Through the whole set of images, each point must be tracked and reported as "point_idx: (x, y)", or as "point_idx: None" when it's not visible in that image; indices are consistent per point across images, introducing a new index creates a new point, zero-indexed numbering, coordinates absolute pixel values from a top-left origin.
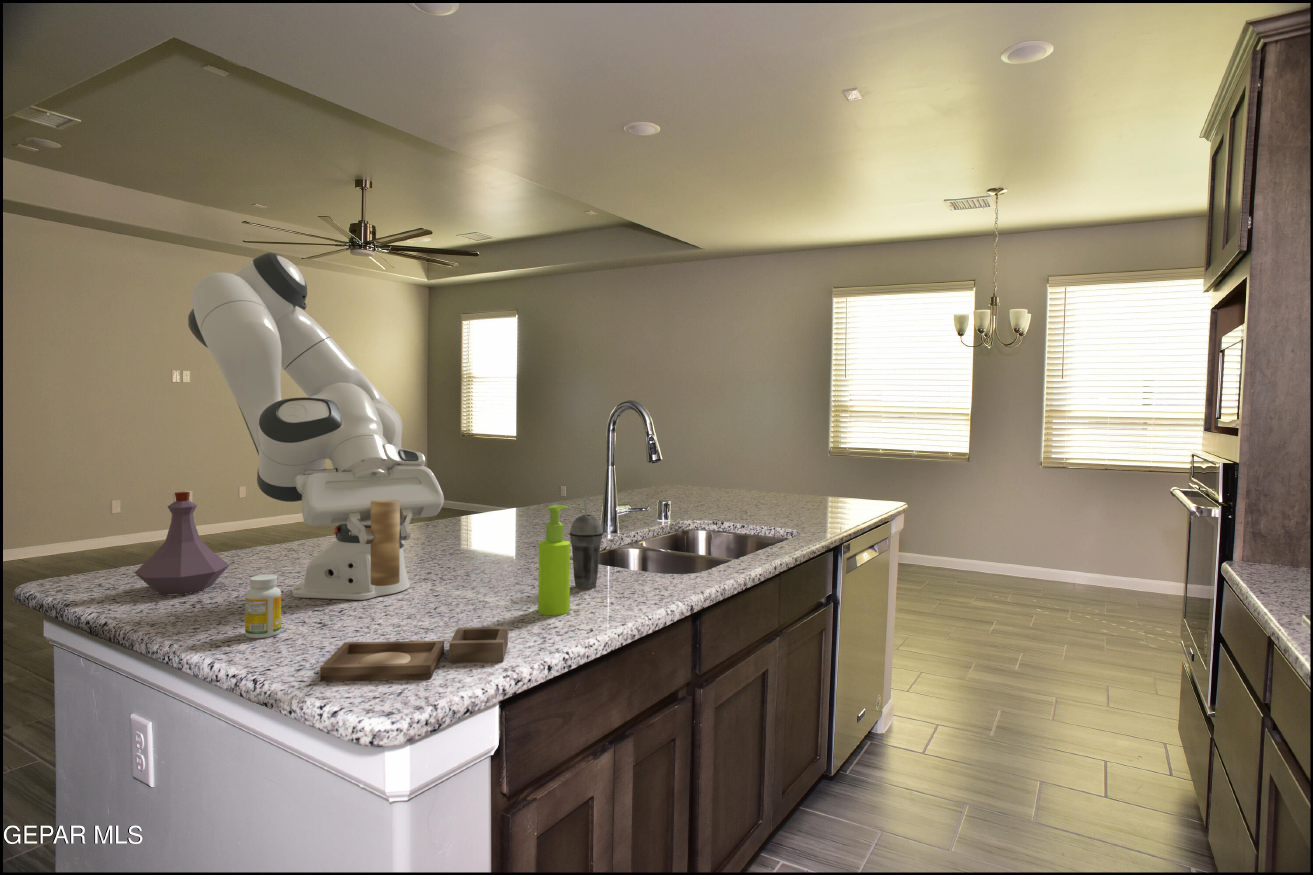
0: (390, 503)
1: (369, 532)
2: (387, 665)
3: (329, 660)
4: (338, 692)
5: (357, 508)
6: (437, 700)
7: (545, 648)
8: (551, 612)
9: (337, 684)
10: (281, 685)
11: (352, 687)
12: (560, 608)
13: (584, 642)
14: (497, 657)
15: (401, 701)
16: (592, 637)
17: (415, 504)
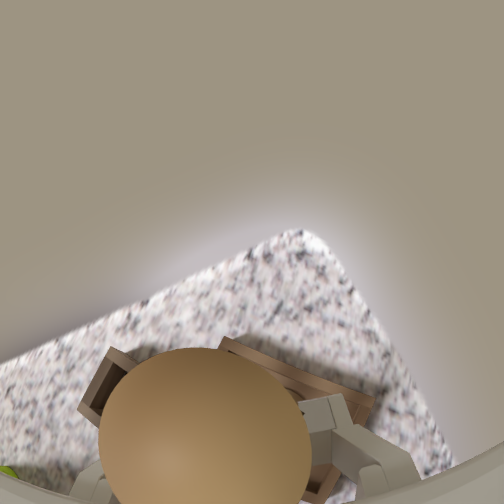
0: (184, 350)
1: (314, 414)
2: (282, 364)
3: (360, 425)
4: (351, 347)
5: (387, 496)
6: (242, 268)
7: (66, 368)
8: (13, 474)
9: (350, 378)
10: (416, 402)
11: (332, 358)
12: (3, 467)
13: (30, 358)
14: (127, 355)
15: (281, 283)
16: (18, 367)
17: (34, 488)
